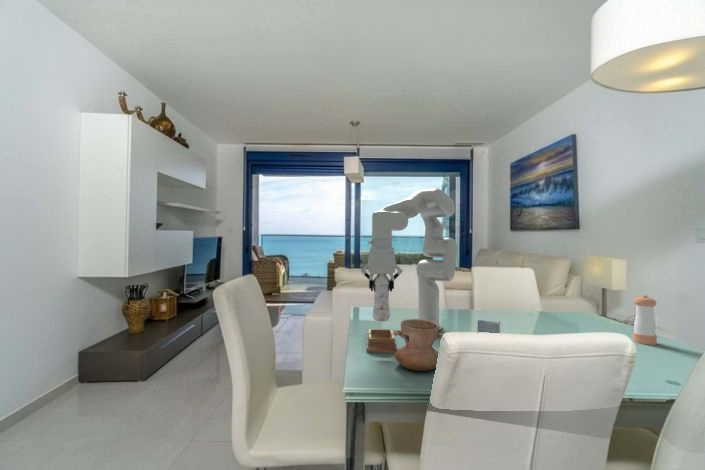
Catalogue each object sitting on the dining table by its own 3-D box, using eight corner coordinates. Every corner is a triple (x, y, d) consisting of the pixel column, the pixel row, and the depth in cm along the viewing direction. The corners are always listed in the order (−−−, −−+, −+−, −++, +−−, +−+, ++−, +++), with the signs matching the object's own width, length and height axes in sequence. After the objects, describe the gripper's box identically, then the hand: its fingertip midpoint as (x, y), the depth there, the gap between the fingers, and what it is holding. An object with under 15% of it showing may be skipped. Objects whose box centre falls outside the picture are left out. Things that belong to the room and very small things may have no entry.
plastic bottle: (391, 323, 126) (392, 269, 126) (373, 323, 126) (374, 269, 126) (388, 319, 132) (389, 267, 133) (371, 319, 132) (372, 267, 132)
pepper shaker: (657, 342, 139) (657, 295, 139) (655, 346, 134) (656, 297, 134) (634, 338, 144) (634, 293, 144) (632, 342, 139) (632, 295, 139)
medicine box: (500, 342, 137) (500, 320, 137) (498, 345, 134) (498, 323, 134) (479, 339, 142) (479, 318, 142) (477, 341, 138) (477, 320, 138)
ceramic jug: (391, 373, 105) (393, 327, 105) (392, 356, 119) (393, 316, 119) (451, 378, 103) (453, 331, 103) (445, 360, 117) (446, 319, 117)
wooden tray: (366, 335, 146) (366, 326, 146) (392, 335, 145) (392, 326, 145) (366, 354, 122) (366, 343, 122) (397, 355, 121) (397, 344, 121)
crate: (368, 340, 136) (368, 329, 136) (392, 340, 135) (392, 329, 135) (369, 350, 123) (369, 338, 123) (394, 351, 123) (394, 338, 123)
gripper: (358, 243, 126) (358, 292, 126) (406, 244, 125) (405, 292, 125) (359, 243, 133) (358, 289, 133) (403, 243, 133) (403, 289, 133)
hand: (381, 290), depth 129 cm, fingers closed on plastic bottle, 6 cm apart
